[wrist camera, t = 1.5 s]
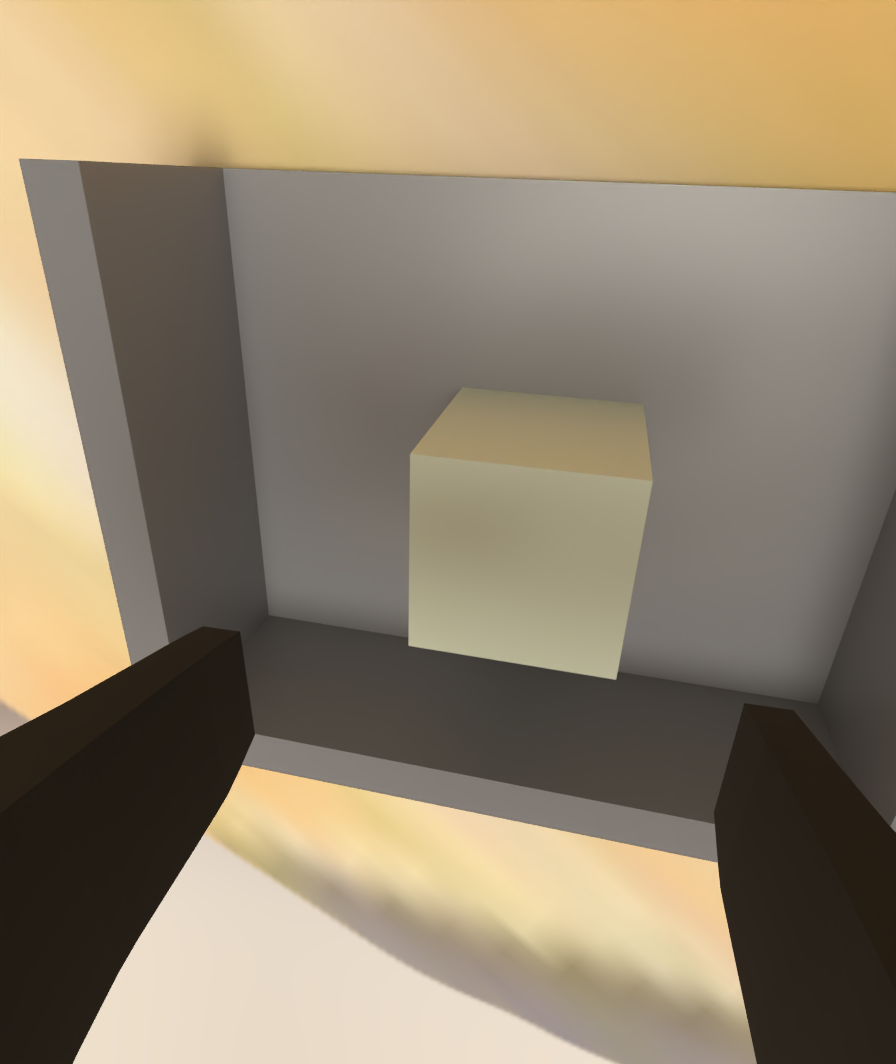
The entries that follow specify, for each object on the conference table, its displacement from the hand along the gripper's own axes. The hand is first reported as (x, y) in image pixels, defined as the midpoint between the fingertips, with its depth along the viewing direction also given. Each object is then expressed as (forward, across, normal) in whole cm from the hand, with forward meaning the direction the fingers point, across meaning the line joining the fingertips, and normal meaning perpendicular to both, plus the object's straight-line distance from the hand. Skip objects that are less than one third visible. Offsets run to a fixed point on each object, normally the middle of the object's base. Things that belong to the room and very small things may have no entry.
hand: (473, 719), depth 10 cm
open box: (+10, 0, 0) cm, 10 cm away
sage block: (+9, 0, 0) cm, 9 cm away
